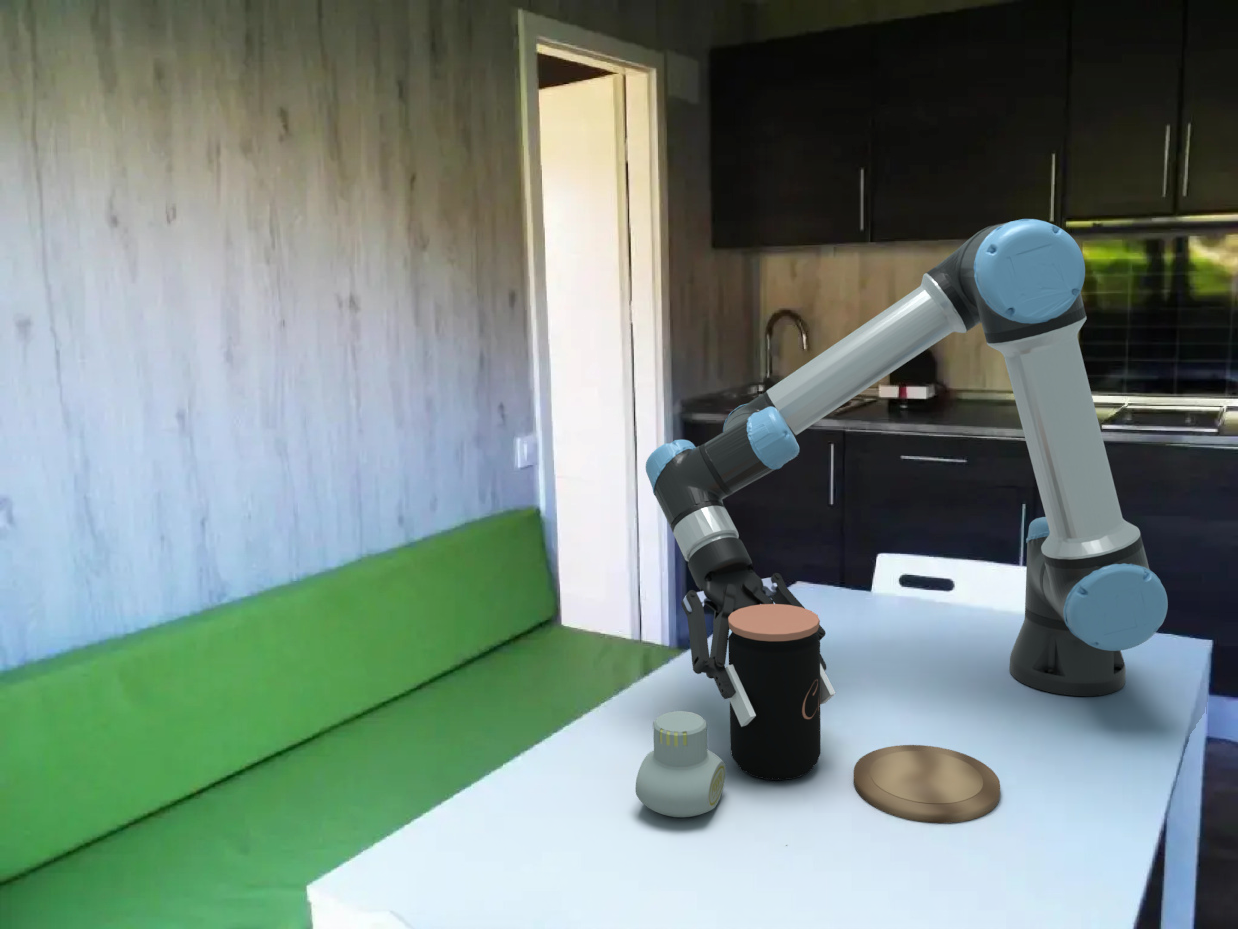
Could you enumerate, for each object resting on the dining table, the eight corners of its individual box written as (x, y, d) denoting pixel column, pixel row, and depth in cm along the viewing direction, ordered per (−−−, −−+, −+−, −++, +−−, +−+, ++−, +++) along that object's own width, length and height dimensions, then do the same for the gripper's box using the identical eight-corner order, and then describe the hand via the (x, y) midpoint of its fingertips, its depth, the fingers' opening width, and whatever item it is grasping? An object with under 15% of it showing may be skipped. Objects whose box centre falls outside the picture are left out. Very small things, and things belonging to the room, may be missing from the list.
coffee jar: (819, 785, 120) (819, 635, 117) (726, 780, 122) (723, 632, 119) (821, 743, 130) (820, 604, 127) (734, 739, 132) (732, 602, 129)
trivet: (968, 751, 128) (968, 741, 128) (1024, 819, 112) (1024, 807, 112) (838, 757, 128) (838, 747, 127) (875, 827, 112) (876, 815, 112)
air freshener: (662, 777, 124) (660, 697, 123) (730, 787, 122) (729, 706, 120) (630, 823, 114) (627, 737, 113) (703, 835, 112) (701, 747, 110)
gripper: (776, 551, 141) (852, 701, 130) (623, 581, 131) (692, 746, 120) (800, 521, 135) (881, 674, 125) (642, 549, 125) (717, 719, 114)
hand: (789, 710), depth 122 cm, fingers closed on coffee jar, 11 cm apart
